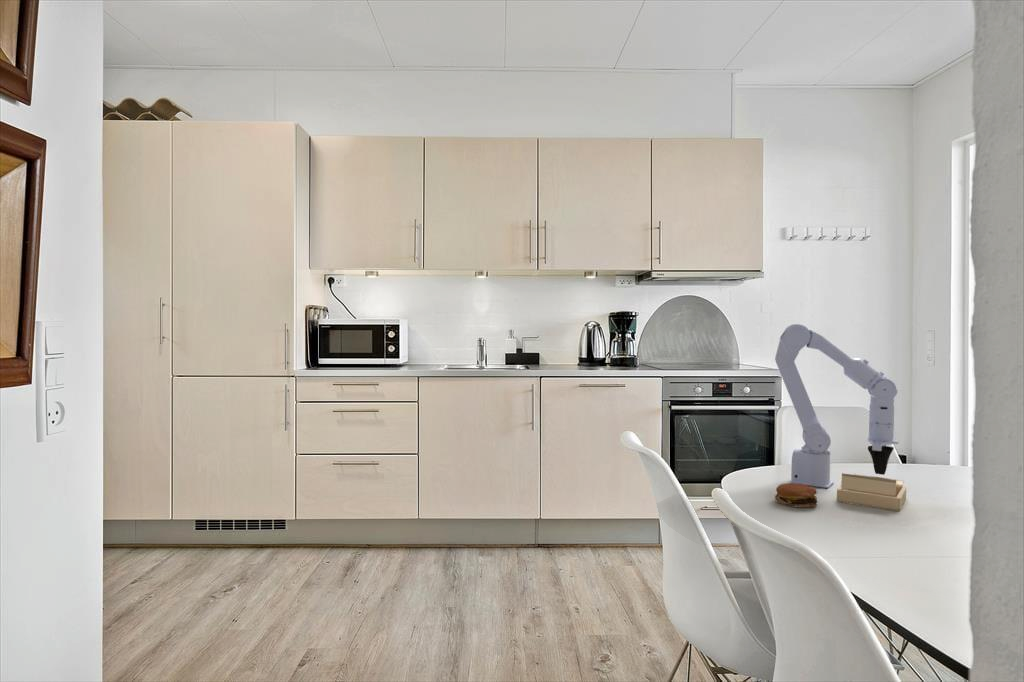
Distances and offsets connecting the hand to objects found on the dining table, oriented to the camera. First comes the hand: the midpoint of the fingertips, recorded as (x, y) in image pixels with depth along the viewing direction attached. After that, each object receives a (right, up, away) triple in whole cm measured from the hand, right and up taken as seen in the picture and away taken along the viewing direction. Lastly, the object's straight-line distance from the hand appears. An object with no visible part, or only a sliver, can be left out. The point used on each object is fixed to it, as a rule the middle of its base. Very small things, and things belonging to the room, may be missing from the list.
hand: (880, 473), depth 175 cm
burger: (-28, -5, -14) cm, 32 cm away
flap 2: (-4, -1, -5) cm, 7 cm away
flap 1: (-12, -2, -16) cm, 20 cm away
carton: (-8, -4, -11) cm, 14 cm away
